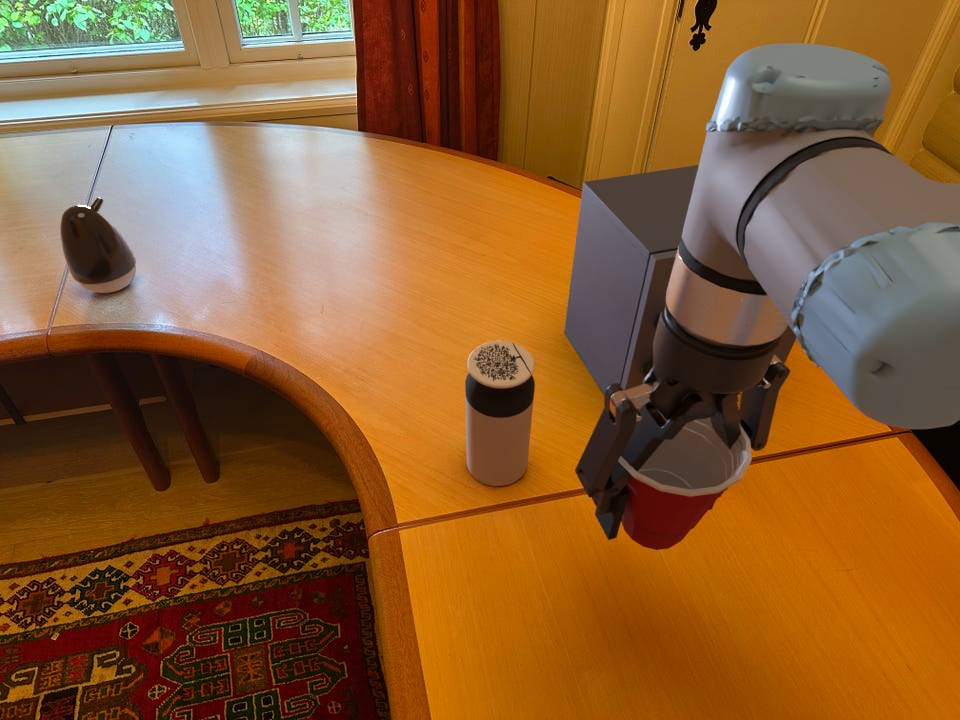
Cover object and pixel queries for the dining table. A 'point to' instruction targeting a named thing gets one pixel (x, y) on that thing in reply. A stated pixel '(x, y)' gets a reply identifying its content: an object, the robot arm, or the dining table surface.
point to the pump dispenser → (95, 249)
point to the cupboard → (620, 260)
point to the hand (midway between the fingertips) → (653, 511)
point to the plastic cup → (681, 483)
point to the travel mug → (499, 411)
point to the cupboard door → (649, 316)
